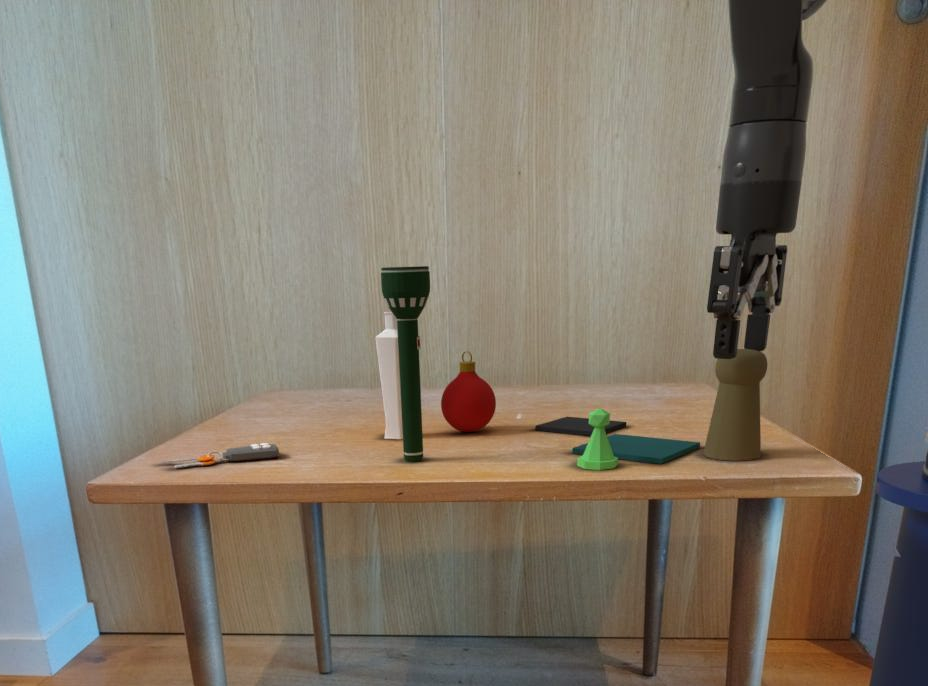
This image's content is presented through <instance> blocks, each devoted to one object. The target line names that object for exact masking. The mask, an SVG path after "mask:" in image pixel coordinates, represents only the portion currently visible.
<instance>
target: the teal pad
mask: <svg viewBox="0 0 928 686" xmlns="http://www.w3.org/2000/svg"><path fill="white" fill-rule="evenodd" d="M607 438H608V440H609V443H610V446H611V449H612V452H613V455H614V457H617V458H618V460H623V461H624V460H626V461H634V462H641V463H642V462H643V463H649V464H650V463H651V464H659V465H663V464H664V463H665V464H666V463H667V462H669V461H671V460H674V459H677V458H679V457H682V456H683V455H686V454H688V453H691V452H693V451H695V450H698V449H700V448H701V442H699V441H690V440H681V439H670V438H661V437H660V438H659V437H652V436H651V437H650V436H640V435H631V434H622V433H621V434H620V433H613V434H610V435H607ZM587 444H588V442H587V443H584V444H581V445H578V446H575V447H572V450H571V451H572V454H574V455H575V454H576V455H583V454H584V452H585V449H586V447H587Z"/></svg>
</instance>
